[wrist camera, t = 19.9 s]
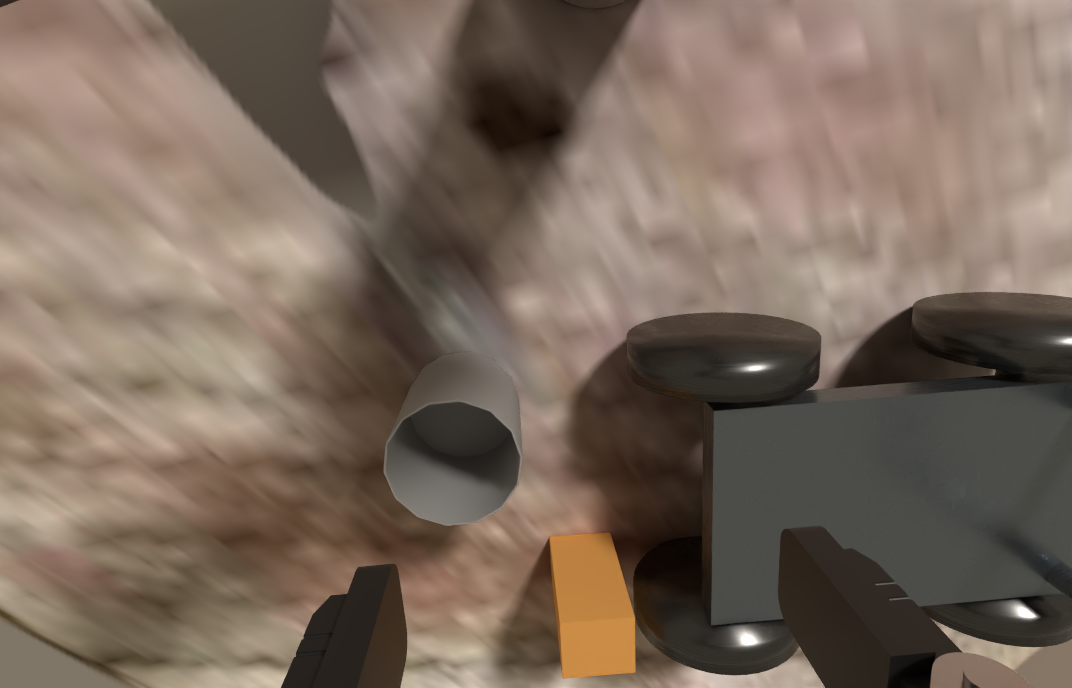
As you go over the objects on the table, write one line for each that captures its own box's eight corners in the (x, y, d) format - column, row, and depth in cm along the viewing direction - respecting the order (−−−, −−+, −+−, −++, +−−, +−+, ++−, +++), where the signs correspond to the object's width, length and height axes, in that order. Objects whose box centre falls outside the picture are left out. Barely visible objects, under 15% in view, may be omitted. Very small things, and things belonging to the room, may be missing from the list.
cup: (392, 371, 46) (362, 424, 36) (496, 336, 45) (494, 381, 36) (432, 468, 48) (414, 542, 38) (532, 436, 48) (539, 502, 38)
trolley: (620, 568, 51) (757, 1033, 24) (612, 319, 45) (779, 549, 18) (994, 535, 52) (1548, 945, 24) (1032, 287, 46) (1816, 458, 19)
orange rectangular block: (551, 583, 51) (562, 678, 42) (549, 536, 50) (559, 623, 41) (611, 579, 52) (635, 672, 42) (610, 532, 50) (634, 617, 41)
